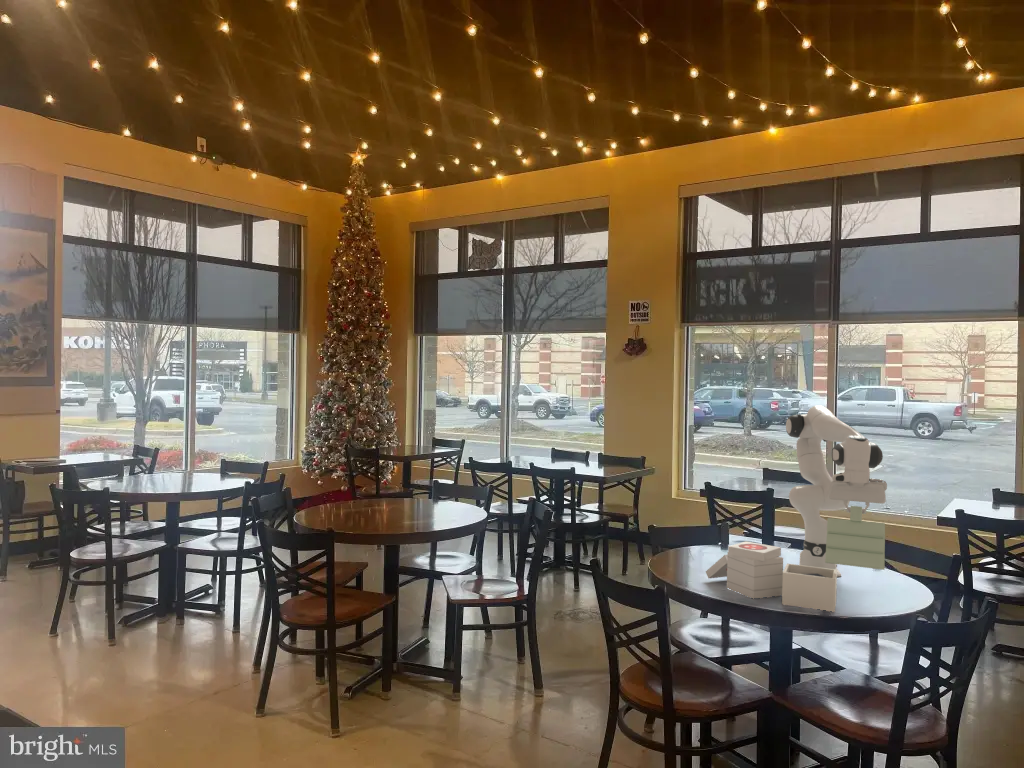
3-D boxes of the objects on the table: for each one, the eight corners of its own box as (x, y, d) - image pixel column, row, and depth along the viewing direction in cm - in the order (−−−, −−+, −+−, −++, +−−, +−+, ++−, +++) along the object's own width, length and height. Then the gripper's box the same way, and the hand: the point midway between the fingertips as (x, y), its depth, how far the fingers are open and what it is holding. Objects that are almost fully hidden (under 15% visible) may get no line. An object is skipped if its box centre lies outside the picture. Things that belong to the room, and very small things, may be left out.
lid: (828, 507, 283) (828, 503, 280) (885, 512, 273) (885, 508, 271) (825, 564, 272) (825, 560, 269) (884, 571, 262) (884, 568, 260)
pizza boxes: (736, 577, 303) (737, 535, 304) (790, 596, 276) (791, 550, 276) (700, 581, 296) (701, 538, 296) (752, 601, 268) (753, 553, 268)
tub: (786, 593, 280) (787, 563, 280) (836, 600, 271) (837, 569, 272) (782, 604, 265) (782, 572, 265) (834, 612, 257) (835, 579, 257)
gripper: (886, 478, 274) (886, 514, 274) (829, 474, 283) (828, 509, 283) (887, 480, 268) (886, 516, 268) (828, 476, 278) (827, 511, 278)
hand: (856, 512), depth 276 cm, fingers closed on lid, 4 cm apart
